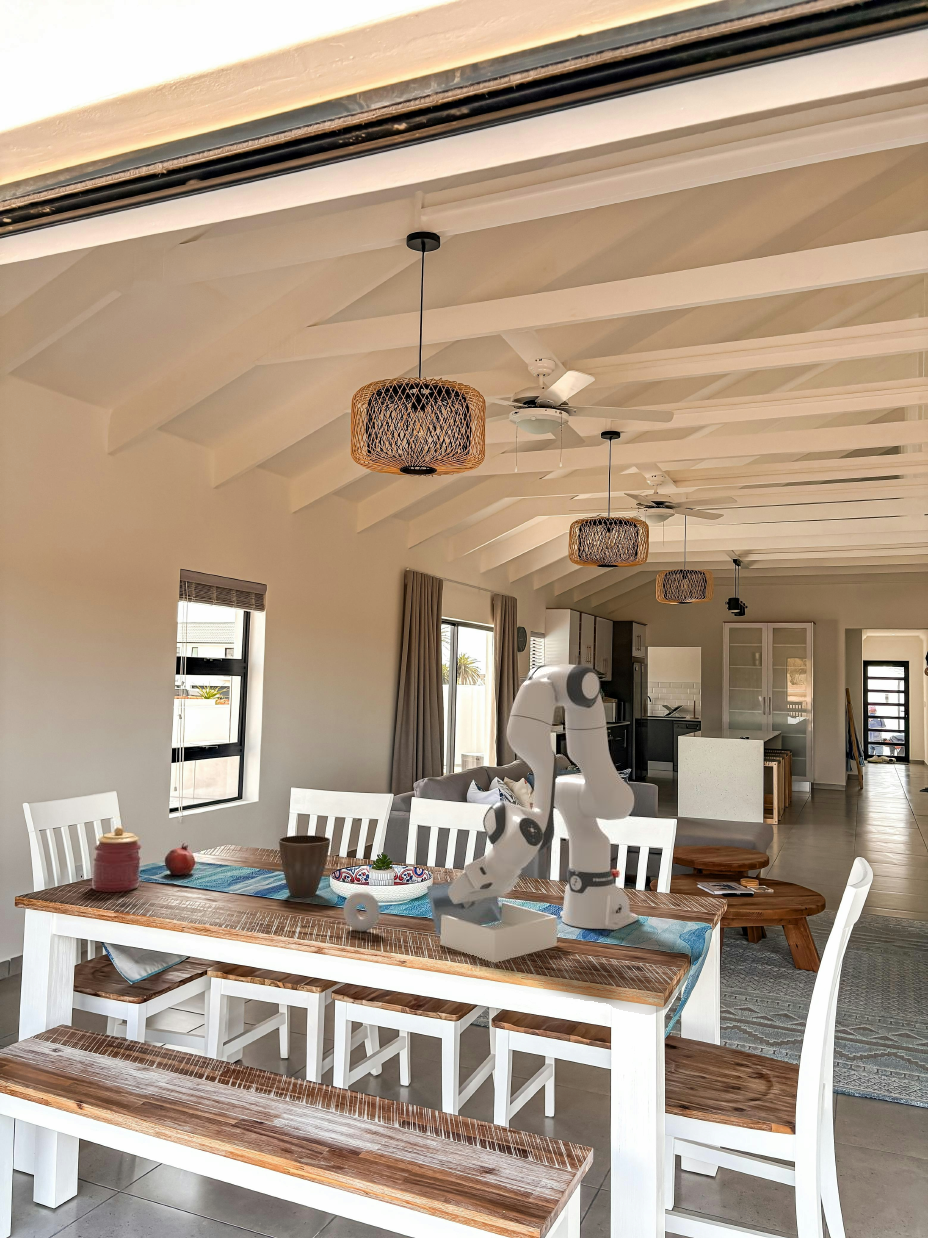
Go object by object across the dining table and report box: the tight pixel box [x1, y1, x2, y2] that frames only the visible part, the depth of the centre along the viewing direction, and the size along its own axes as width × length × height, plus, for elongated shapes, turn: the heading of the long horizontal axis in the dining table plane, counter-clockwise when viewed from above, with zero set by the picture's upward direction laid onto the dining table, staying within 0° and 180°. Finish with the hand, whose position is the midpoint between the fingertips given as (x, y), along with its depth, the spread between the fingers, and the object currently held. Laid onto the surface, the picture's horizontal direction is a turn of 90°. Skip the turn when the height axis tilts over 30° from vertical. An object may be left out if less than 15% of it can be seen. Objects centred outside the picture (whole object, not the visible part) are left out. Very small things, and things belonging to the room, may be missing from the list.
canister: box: [91, 826, 142, 893], centre depth 262 cm, size 13×13×18 cm
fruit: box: [164, 842, 196, 877], centre depth 282 cm, size 9×10×10 cm
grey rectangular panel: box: [426, 881, 501, 936], centre depth 225 cm, size 2×22×12 cm, turn 134°
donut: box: [343, 890, 381, 932], centre depth 224 cm, size 10×4×10 cm, turn 67°
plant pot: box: [278, 834, 331, 898], centre depth 261 cm, size 15×15×16 cm
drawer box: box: [440, 901, 558, 964], centre depth 216 cm, size 18×22×7 cm
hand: (467, 905), depth 224 cm, fingers closed, pressing on grey rectangular panel
